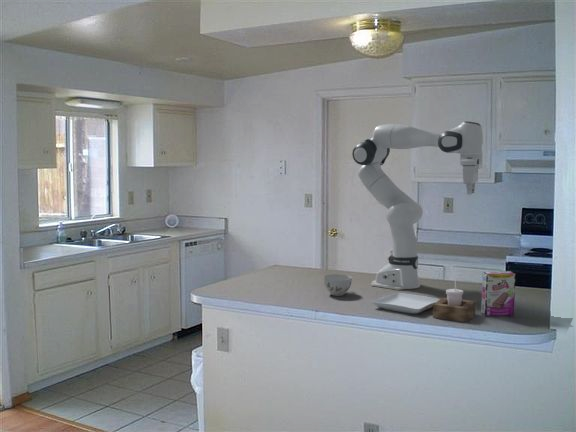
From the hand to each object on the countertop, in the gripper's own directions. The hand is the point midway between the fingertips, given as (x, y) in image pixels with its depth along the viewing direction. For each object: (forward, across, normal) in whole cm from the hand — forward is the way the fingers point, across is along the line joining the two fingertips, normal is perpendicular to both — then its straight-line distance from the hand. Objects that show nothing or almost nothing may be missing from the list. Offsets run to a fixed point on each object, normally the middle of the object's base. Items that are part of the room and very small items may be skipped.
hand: (470, 193), depth 254 cm
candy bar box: (+44, +25, +13) cm, 53 cm away
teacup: (+44, +14, -54) cm, 71 cm away
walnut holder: (+44, +32, -2) cm, 55 cm away
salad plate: (+45, +26, -21) cm, 56 cm away
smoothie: (+44, +32, -2) cm, 55 cm away
